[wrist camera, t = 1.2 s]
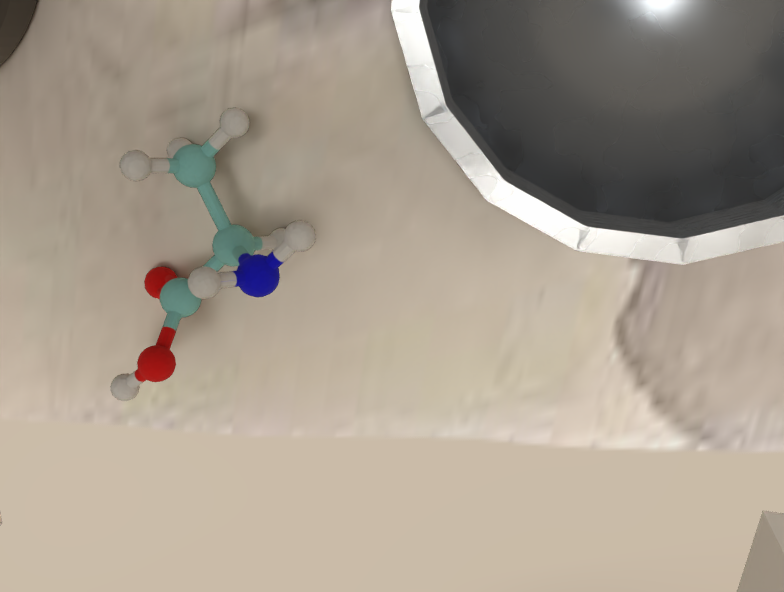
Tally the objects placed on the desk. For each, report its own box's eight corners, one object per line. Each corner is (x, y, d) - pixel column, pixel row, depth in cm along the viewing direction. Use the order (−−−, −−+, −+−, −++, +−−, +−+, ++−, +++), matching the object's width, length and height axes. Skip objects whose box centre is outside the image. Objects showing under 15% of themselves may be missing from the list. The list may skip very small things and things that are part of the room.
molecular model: (33, 108, 31) (30, 223, 23) (255, 73, 33) (318, 165, 26) (105, 320, 38) (121, 462, 30) (285, 277, 40) (341, 398, 33)
